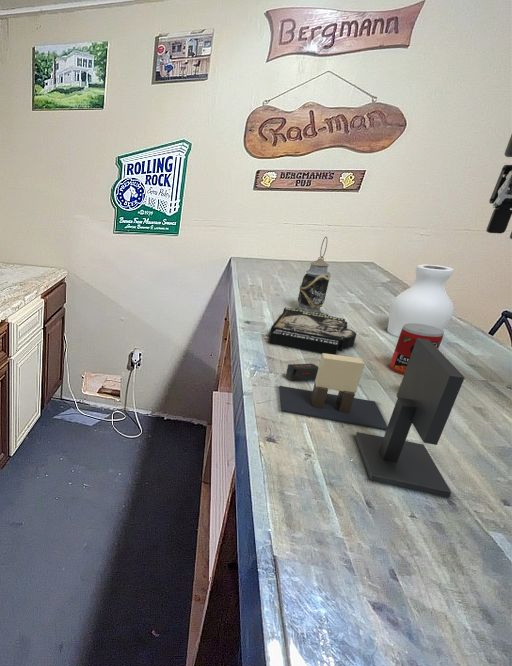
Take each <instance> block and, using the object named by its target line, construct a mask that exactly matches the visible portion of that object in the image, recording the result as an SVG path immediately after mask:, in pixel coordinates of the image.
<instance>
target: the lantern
mask: <svg viewBox="0 0 512 666" xmlns="http://www.w3.org/2000/svg"><path fill="white" fill-rule="evenodd" d="M325 239H326V240H328V237H327V236H324V238H323V239H322V242H321V246H320V250H319V251H320V252H319V255H320V256H319V257H318V258H317V259H316V260H314V261H311V262H310V266H309V269H308V270H305V274H304V275H303V277H302V282H301V284H300V286H299V293H298V296H297V302H298V306H297V309H298V310H304V311H311V312H317V313H321V308H323V305H324V304H325V301H326V296H327V291H328V287H329V284H330V283H329V282H330V279H331V276H332V275H331V272H328V267H329V266H330V264H328V263H327V262H326V261H325V257H324V256H325V254H326V251H327V247H328V241H325ZM324 241H325V242H326V243H325V248H324V252H323V255H322V249H323V244H324Z"/></svg>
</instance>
